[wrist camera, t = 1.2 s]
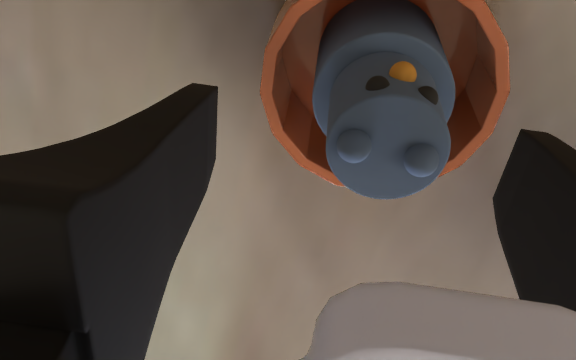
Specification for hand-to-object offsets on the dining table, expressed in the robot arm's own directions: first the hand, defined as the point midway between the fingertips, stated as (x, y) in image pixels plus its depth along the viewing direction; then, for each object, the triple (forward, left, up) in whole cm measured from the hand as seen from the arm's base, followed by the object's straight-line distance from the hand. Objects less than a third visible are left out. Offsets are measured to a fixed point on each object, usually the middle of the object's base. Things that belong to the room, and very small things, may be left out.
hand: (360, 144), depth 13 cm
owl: (-2, +1, -10) cm, 10 cm away
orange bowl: (-2, +1, -10) cm, 10 cm away
